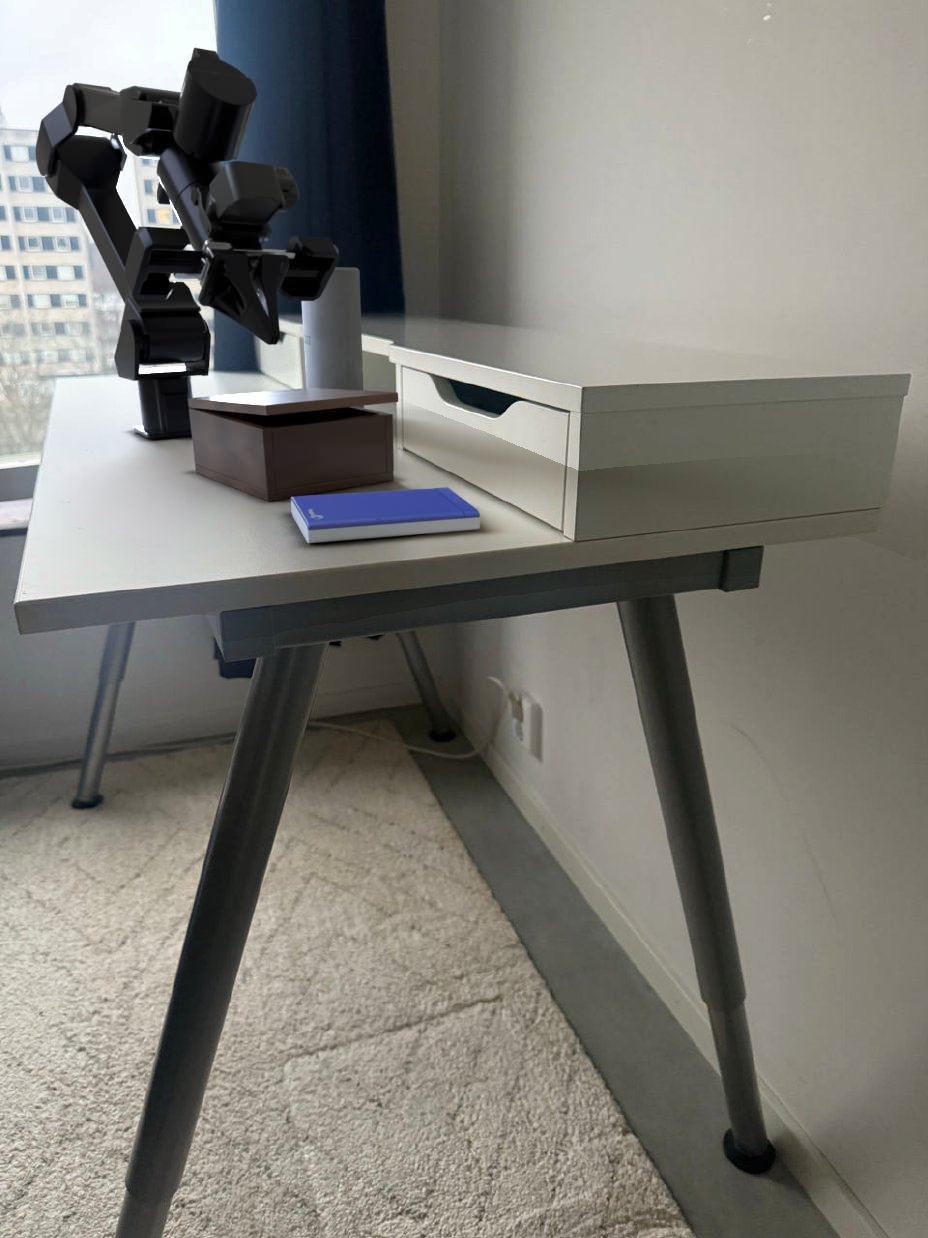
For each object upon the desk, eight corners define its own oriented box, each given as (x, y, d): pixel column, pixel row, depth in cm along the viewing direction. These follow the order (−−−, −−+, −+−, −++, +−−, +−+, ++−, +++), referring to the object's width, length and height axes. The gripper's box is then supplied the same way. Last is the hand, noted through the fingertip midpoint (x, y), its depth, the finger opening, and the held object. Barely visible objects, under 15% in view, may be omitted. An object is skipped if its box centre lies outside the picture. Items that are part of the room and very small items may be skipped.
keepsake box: (394, 479, 77) (393, 414, 75) (268, 501, 69) (262, 429, 67) (314, 455, 87) (311, 396, 84) (195, 472, 79) (188, 407, 77)
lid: (398, 401, 74) (398, 392, 73) (266, 415, 66) (265, 405, 66) (311, 396, 84) (310, 387, 84) (188, 407, 77) (187, 398, 76)
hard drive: (307, 523, 58) (480, 510, 62) (290, 494, 65) (446, 484, 69) (308, 545, 59) (479, 531, 62) (291, 514, 66) (446, 503, 69)
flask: (300, 408, 115) (291, 245, 107) (344, 406, 117) (337, 246, 109) (320, 427, 102) (310, 242, 94) (368, 424, 103) (362, 243, 96)
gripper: (122, 111, 66) (198, 269, 63) (326, 141, 78) (400, 275, 75) (96, 224, 75) (163, 369, 71) (284, 236, 86) (349, 361, 83)
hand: (274, 341), depth 75 cm, fingers closed
